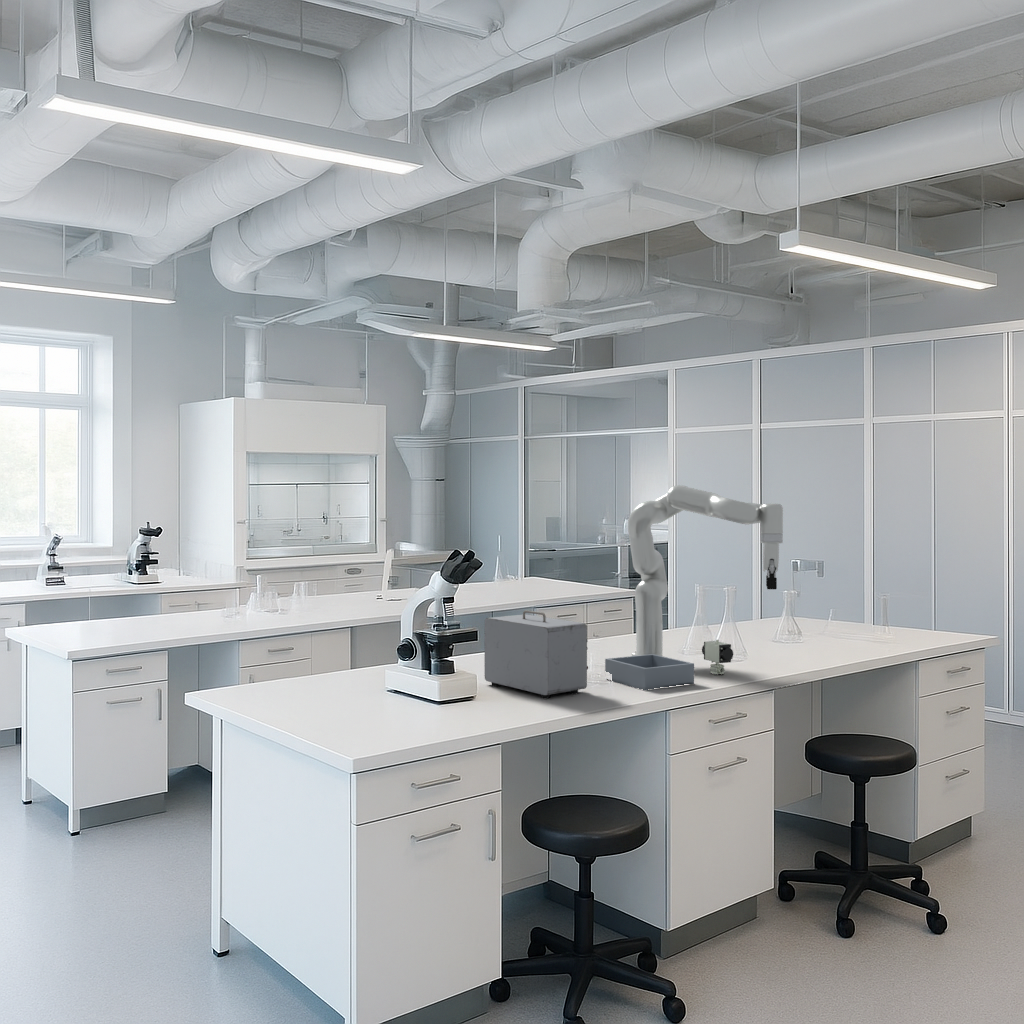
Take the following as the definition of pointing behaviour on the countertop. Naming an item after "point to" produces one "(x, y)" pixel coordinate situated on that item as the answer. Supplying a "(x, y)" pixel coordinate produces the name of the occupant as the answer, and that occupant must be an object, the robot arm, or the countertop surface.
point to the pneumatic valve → (717, 655)
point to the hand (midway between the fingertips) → (771, 587)
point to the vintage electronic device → (536, 653)
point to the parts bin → (649, 671)
